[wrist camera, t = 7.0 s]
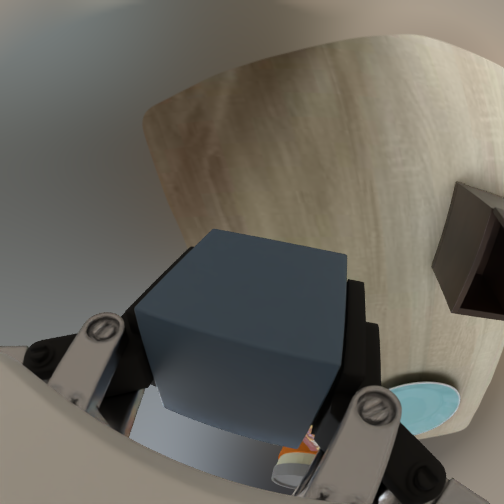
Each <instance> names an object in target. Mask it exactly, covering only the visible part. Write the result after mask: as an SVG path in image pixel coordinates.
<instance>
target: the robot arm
mask: <svg viewBox="0 0 504 504" xmlns="http://www.w3.org/2000/svg"><path fill="white" fill-rule="evenodd" d="M193 248H194V247H190V248H189V249H188V250H187V251H186V252H184V253H183V254H182V255H181V256H180V258H178V259H177V260H176V261H175V262H174V263H173V264H172V265H171V266H170V267H169V268H168V269H167V270H166V271H165V272H164V273H163V274H162V275H161V276H160V277H159V278H158V279H157V280H156V281H155V282H154V283H153V284H152V285H151V286H150V287H149V288H148V289H147V290H146V291H145V292H144V293H143V294H142V295H141V296H140V297H139V298H138V299H137V300H136V301H135V302H134V303H133V304H132V305H131V306H130V307H129V308H128V309H127V310H126V312H125V313H124V314H123V315H122V316H121V317H120V316H119V315H117V314H114V313H109V312H104V313H99V314H96V315H94V316H92V317H91V318H89V319H88V320H87V321H86V322H85V323H84V325H83V326H82V328H81V329H80V331H79V332H78V333H77V334H72V335H67V336H62V337H56V338H51V339H46V340H41V341H38V342H36V343H34V344H32V345H31V346H30V347H28V346H0V504H490V503H489V502H488V501H487V500H485V499H484V498H482V497H480V496H479V495H477V494H476V493H474V492H473V491H471V490H470V489H468V488H467V487H465V486H464V485H462V484H461V483H460V482H458V481H457V480H455V479H454V478H452V479H450V480H449V479H447V478H446V472H445V469H444V467H443V466H442V464H441V463H440V462H439V461H438V460H437V459H436V458H435V457H434V456H433V455H432V454H431V453H430V452H429V451H428V450H427V448H425V446H423V445H422V443H420V441H419V440H418V439H417V438H416V437H415V436H414V435H413V434H412V433H411V432H410V431H409V430H408V429H407V428H406V427H405V426H404V425H403V424H402V423H401V422H400V420H401V416H402V407H401V403H400V401H399V399H398V398H397V396H396V395H395V394H394V393H393V392H392V391H390V390H388V389H386V388H384V387H381V363H380V339H379V326H378V324H375V323H370V322H366V315H365V290H364V282H360V281H355V280H350V279H348V281H347V285H346V308H345V325H344V338H343V350H342V360H341V366H340V368H339V371H338V373H337V375H336V377H335V379H334V381H333V384H332V386H331V388H330V390H329V392H328V394H327V396H326V398H325V400H324V402H323V404H322V406H321V408H320V410H319V412H318V414H317V415H316V417H315V419H314V421H313V423H312V431H311V434H313V435H315V436H314V441H315V442H316V443H317V444H318V446H319V449H318V451H317V453H316V455H315V457H314V459H313V461H312V462H311V464H310V466H309V468H308V469H307V471H306V473H305V475H304V476H303V478H302V480H301V481H300V483H299V485H298V486H297V488H296V490H295V492H294V493H293V495H292V496H290V495H285V494H280V493H275V492H271V491H266V490H262V489H258V488H254V487H251V486H247V485H243V484H239V483H236V482H233V481H230V480H226V479H224V478H220V477H217V476H215V475H211V474H208V473H206V472H203V471H200V470H198V469H195V468H193V467H190V466H187V465H185V464H182V463H180V462H178V461H175V460H173V459H170V458H168V457H166V456H164V455H162V454H160V453H158V452H155V451H153V450H151V449H149V448H147V447H145V446H143V445H141V444H139V443H137V442H135V441H133V440H132V439H130V438H129V436H130V432H131V429H132V426H133V423H134V420H135V417H136V414H137V411H138V408H139V406H140V403H141V400H142V397H143V394H144V391H145V388H148V387H149V385H150V384H151V385H153V386H156V383H155V380H154V377H153V374H152V371H151V368H150V365H149V361H148V358H147V355H146V351H145V348H144V344H143V341H142V337H141V334H140V330H139V326H138V322H137V318H136V314H135V310H134V308H135V306H136V305H137V304H138V303H139V302H140V301H141V300H142V299H143V298H144V297H145V296H146V295H147V294H148V293H149V292H150V291H151V290H152V289H153V288H154V287H155V286H156V285H157V284H158V283H159V282H160V281H161V280H162V279H163V278H164V277H165V276H166V275H167V274H168V273H169V272H170V271H171V270H172V269H173V268H174V267H175V266H176V265H177V264H178V263H179V262H180V261H181V260H182V259H183V258H184V257H185V256H186V255H187V254H188V253H189V252H190V251H191V250H192V249H193ZM156 387H157V386H156Z"/></svg>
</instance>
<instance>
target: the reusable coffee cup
mask: <svg viewBox="0 0 504 504" xmlns="http://www.w3.org/2000/svg"><path fill="white" fill-rule="evenodd" d="M316 453H317V451H311V450H310V449H309V448H308V446H307V445H306V444H305V443H304V442H303V441H302V443H301V444H300V446H299V448H298V449H293V448H289V447H284V446H283V448H282V450H281V452H280V454H279V457H278V459H279V461H278V463H277V465H276V466H275V467H274V469H273V474H272V481H273V482H275V483H276V484H278V485H281V486H284V487H287V488H292V489H296V488H297V486H298V485H299V483H300V481H301V480H302V478H303V476H304V475H305V473H306V471H307V469H308V468H309V466H310V464H311V462H312V461H313V459H314V457H315V455H316Z"/></svg>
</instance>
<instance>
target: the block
mask: <svg viewBox="0 0 504 504" xmlns="http://www.w3.org/2000/svg"><path fill="white" fill-rule="evenodd" d="M346 285H347V255H346V254H341V253H336V252H331V251H326V250H321V249H316V248H311V247H306V246H301V245H296V244H291V243H286V242H281V241H276V240H271V239H266V238H260V237H255V236H250V235H245V234H239V233H234V232H229V231H223V230H218V229H212V230H211V231H210V232H209V233H208V234H207V235H206V236H205V237H204V238H203V239H202V240H201V241H200V242H199V243H198V244H197V245H196V246H195V247H194V248H193V249H192V250H191V251H190V252H189V253H188V254H187V255H186V256H185V257H184V258H183V259H182V260H181V261H180V262H179V263H178V264H177V265H176V266H175V267H174V268H173V269H172V270H171V271H170V272H169V273H168V274H167V275H166V276H165V277H164V278H163V279H162V280H161V281H160V282H159V283H158V284H157V285H156V286H155V287H154V288H153V289H152V290H151V291H150V292H149V293H148V294H147V295H146V296H145V297H144V298H143V299H142V300H141V301H140V302H139V303H138V304H137V305H136V306H135V308H134V310H135V314H136V318H137V322H138V326H139V330H140V334H141V337H142V341H143V344H144V348H145V351H146V355H147V358H148V361H149V365H150V368H151V371H152V374H153V377H154V380H155V383H156V386H157V389H158V392H159V395H160V397H161V400H162V403H163V406H164V407H165V408H166V409H169V410H171V411H174V412H176V413H178V414H181V415H183V416H186V417H188V418H191V419H193V420H197V421H199V422H202V423H204V424H207V425H210V426H213V427H216V428H219V429H222V430H225V431H228V432H231V433H234V434H238V435H241V436H245V437H248V438H252V439H255V440H259V441H263V442H267V443H271V444H275V445H279V446H284V447H289V448H293V449H298V448H299V446H300V444H301V443H302V441H303V439H304V437H305V436H306V434H307V432H308V430H309V428H310V427H311V425H312V423H313V421H314V419H315V417H316V415H317V414H318V412H319V410H320V408H321V406H322V404H323V402H324V400H325V398H326V396H327V394H328V392H329V390H330V388H331V386H332V384H333V381H334V379H335V377H336V375H337V373H338V371H339V368H340V366H341V360H342V350H343V338H344V325H345V308H346Z"/></svg>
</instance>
